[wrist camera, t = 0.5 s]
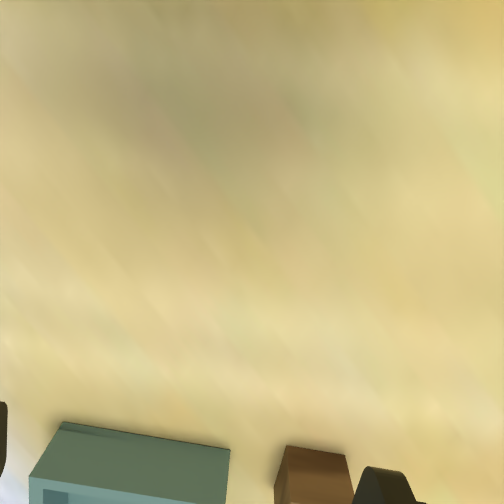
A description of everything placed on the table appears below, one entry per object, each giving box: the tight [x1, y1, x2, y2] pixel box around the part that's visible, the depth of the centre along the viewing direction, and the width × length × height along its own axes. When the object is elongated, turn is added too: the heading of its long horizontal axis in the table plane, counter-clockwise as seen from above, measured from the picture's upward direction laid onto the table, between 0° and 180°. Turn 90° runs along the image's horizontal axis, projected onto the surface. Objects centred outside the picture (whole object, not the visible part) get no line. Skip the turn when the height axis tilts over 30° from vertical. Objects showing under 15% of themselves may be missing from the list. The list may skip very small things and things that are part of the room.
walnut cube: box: [274, 445, 354, 504], centre depth 31 cm, size 5×5×5 cm
